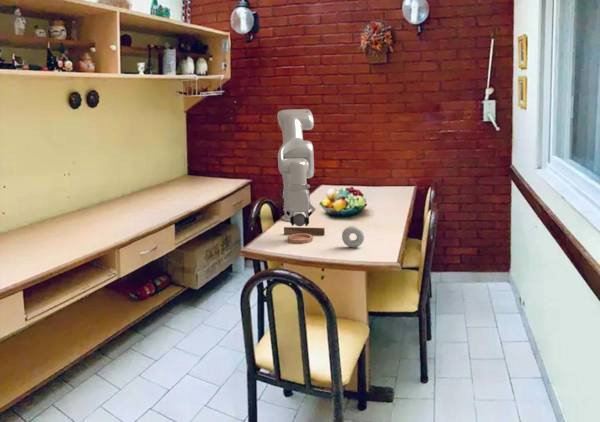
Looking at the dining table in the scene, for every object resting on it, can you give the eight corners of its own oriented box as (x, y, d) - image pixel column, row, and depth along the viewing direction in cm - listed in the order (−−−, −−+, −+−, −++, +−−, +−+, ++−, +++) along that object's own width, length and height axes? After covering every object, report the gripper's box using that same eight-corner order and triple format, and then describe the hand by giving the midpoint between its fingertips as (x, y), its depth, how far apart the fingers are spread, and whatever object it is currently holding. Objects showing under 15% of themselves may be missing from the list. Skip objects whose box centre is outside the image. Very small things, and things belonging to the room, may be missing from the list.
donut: (341, 248, 249) (341, 226, 247) (342, 246, 252) (342, 224, 250) (363, 249, 247) (363, 227, 245) (364, 246, 250) (364, 225, 248)
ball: (294, 224, 265) (294, 212, 264) (307, 224, 264) (306, 212, 262) (292, 227, 259) (291, 214, 258) (304, 227, 258) (304, 215, 257)
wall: (284, 233, 275) (284, 227, 275) (324, 234, 272) (324, 227, 271) (284, 234, 274) (283, 227, 274) (324, 235, 270) (324, 228, 270)
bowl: (290, 236, 270) (290, 233, 270) (314, 237, 268) (314, 233, 267) (285, 243, 259) (285, 239, 259) (310, 244, 257) (309, 240, 256)
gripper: (318, 186, 259) (319, 223, 263) (282, 185, 263) (283, 223, 267) (315, 188, 252) (316, 227, 256) (278, 188, 256) (280, 226, 260)
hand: (299, 224), depth 261 cm, fingers closed on ball, 5 cm apart
